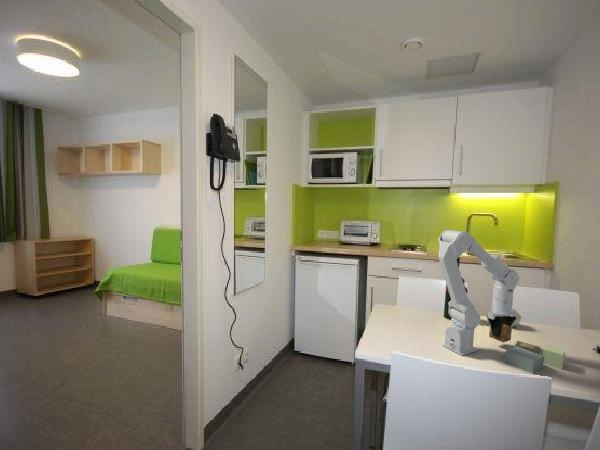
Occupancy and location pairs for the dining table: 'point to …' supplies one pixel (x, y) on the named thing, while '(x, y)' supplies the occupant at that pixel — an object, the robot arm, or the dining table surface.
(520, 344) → the card
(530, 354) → the slate plinth
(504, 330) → the walnut cube
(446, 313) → the wine bottle
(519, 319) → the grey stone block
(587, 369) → the dining table surface
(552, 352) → the sage cube
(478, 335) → the dining table surface
